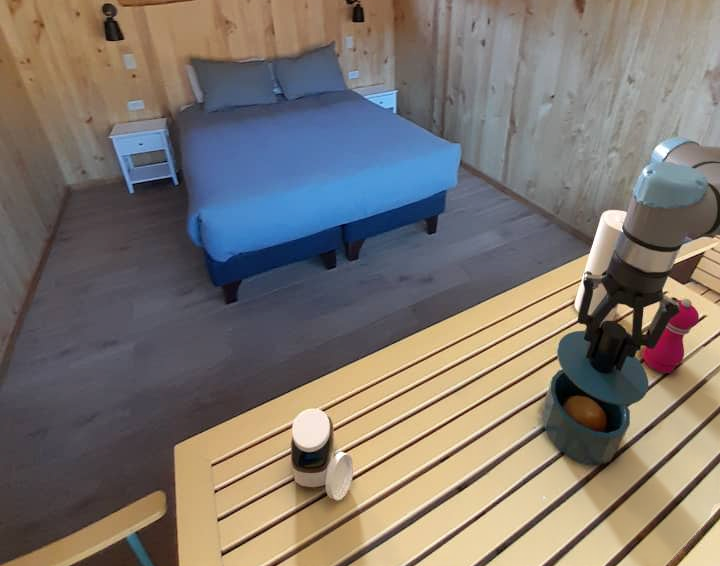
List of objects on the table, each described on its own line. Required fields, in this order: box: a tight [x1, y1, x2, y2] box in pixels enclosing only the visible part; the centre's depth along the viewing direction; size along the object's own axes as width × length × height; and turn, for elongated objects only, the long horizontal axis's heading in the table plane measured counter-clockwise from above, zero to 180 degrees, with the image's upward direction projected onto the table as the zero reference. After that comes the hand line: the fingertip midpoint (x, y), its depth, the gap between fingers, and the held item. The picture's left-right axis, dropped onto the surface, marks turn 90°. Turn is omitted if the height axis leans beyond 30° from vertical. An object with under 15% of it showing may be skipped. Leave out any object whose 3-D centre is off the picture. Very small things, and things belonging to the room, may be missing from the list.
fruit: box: [562, 396, 607, 433], centre depth 80 cm, size 8×8×8 cm
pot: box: [541, 368, 631, 467], centre depth 80 cm, size 14×14×10 cm
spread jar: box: [290, 408, 354, 501], centre depth 74 cm, size 12×11×12 cm
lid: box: [556, 320, 649, 406], centre depth 71 cm, size 15×15×10 cm
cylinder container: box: [574, 209, 627, 325], centre depth 102 cm, size 9×9×30 cm
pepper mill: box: [642, 298, 700, 374], centre depth 90 cm, size 7×7×20 cm
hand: (603, 358), depth 73 cm, fingers closed on lid, 4 cm apart
